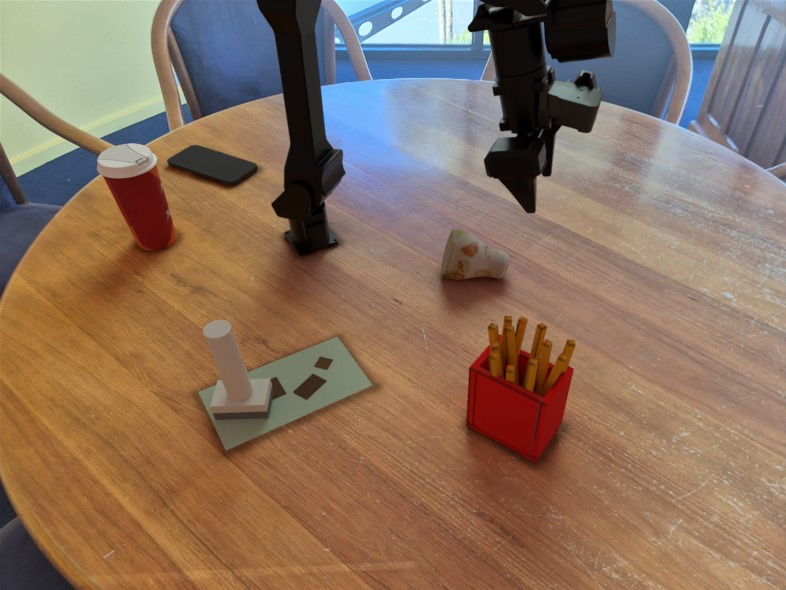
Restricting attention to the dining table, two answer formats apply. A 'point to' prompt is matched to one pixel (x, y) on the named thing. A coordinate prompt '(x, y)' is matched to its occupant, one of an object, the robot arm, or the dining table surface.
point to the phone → (212, 164)
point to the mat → (295, 389)
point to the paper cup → (138, 194)
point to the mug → (471, 258)
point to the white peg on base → (235, 378)
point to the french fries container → (519, 389)
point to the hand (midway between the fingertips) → (539, 193)
